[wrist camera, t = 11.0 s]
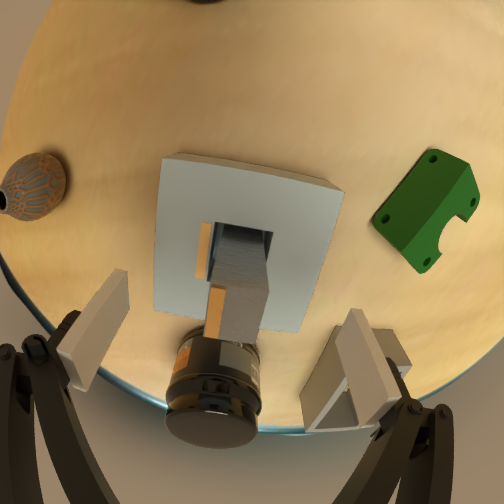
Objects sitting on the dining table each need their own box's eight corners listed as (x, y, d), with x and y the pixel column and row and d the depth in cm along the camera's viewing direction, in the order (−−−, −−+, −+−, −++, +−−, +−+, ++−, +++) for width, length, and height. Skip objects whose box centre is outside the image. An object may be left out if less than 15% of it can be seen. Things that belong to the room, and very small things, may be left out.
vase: (53, 136, 21) (-3, 147, 13) (85, 178, 24) (31, 201, 16) (27, 179, 23) (-23, 200, 15) (56, 219, 25) (8, 251, 17)
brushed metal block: (226, 214, 25) (209, 283, 14) (260, 220, 25) (269, 293, 14) (220, 252, 27) (202, 338, 16) (252, 258, 27) (254, 346, 16)
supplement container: (167, 357, 34) (147, 430, 23) (201, 308, 30) (182, 393, 19) (233, 386, 36) (229, 457, 26) (276, 345, 33) (284, 426, 22)
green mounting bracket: (388, 222, 31) (408, 284, 25) (363, 195, 28) (384, 261, 22) (463, 173, 23) (500, 231, 18) (446, 137, 20) (492, 195, 15)
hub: (178, 152, 23) (161, 158, 18) (327, 180, 24) (345, 192, 20) (166, 283, 29) (153, 310, 24) (291, 303, 30) (297, 333, 25)
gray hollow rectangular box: (335, 325, 32) (351, 367, 25) (392, 329, 32) (412, 365, 26) (299, 395, 38) (305, 432, 31) (349, 395, 39) (359, 428, 32)
